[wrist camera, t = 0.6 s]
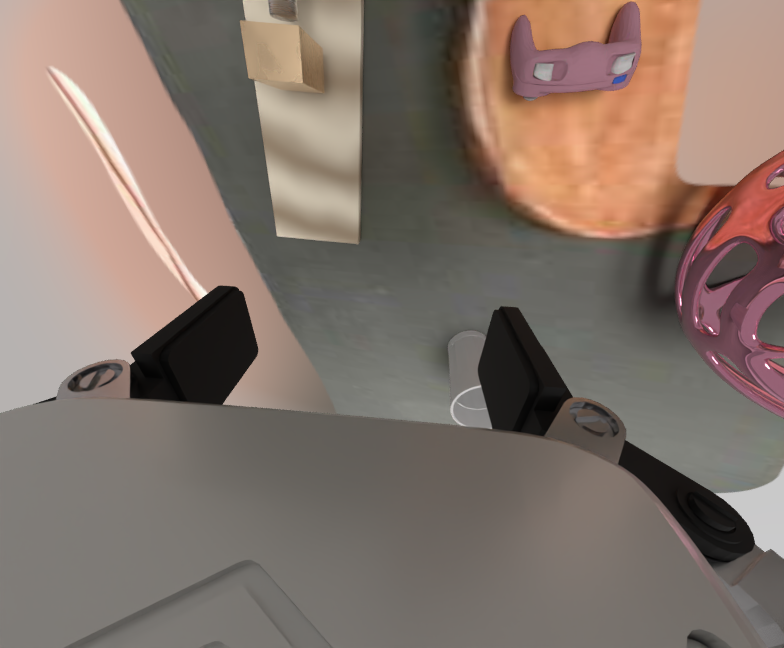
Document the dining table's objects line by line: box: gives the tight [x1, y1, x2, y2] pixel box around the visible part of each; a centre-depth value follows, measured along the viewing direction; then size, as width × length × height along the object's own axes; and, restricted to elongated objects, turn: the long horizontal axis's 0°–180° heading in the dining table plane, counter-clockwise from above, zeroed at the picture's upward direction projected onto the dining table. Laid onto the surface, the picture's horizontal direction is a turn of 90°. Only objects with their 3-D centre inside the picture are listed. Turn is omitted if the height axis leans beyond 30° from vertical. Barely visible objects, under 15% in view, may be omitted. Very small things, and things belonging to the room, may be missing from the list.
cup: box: [448, 330, 492, 429], centre depth 39 cm, size 8×8×12 cm
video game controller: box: [510, 2, 641, 101], centre depth 24 cm, size 10×5×7 cm, turn 94°
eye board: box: [243, 0, 364, 244], centre depth 23 cm, size 32×10×10 cm, turn 176°
